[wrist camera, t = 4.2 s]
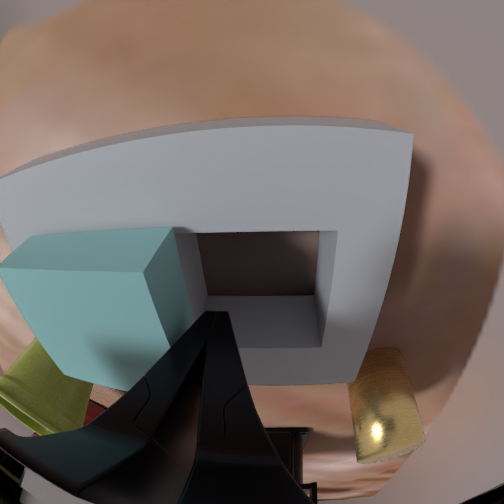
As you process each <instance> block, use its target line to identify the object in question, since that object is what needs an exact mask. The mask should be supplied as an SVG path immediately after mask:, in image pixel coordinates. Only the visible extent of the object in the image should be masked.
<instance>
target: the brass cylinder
mask: <svg viewBox="0 0 504 504" xmlns="http://www.w3.org/2000/svg"><path fill="white" fill-rule="evenodd" d="M347 388H348V394H349V401H350V408H351V415H352V422H353V430H354V439H355V448H356V457H357V462H358V463H365V464H366V463H376V462H382V461H386V460H390V459H393V458H396V457H399V456H402V455H404V454H407V453H409V452H411V451H413V450H415V449H417V448H418V447H420V446H421V445H422V444H424V442H425V440H426V439H425V435H424V430H423V426H422V422H421V418H420V414H419V411H418V407H417V403H416V400H415V396H414V393H413V389H412V386H411V383H410V379H409V376H408V373H407V370H406V367H405V364H404V361H403V358H402V355H401V353H400V352H399V351H398V350H396V349H393V348H378V349H374V350H371V351H368V352H366V354H365V357H364V359H363V362H362V364H361V367H360V369H359V372H358V374H357V377H356V379H355V382H347Z"/></svg>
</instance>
